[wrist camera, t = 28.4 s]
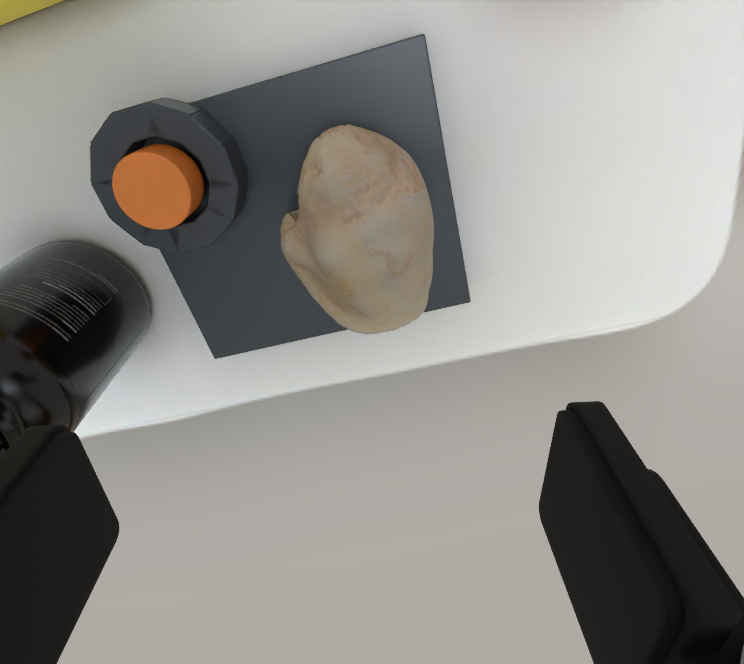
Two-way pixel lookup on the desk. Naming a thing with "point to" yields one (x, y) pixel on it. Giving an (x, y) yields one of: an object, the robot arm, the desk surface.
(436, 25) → the desk surface
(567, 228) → the desk surface
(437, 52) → the desk surface
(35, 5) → the element tile
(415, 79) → the scale
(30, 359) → the supplement bottle
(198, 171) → the tare button
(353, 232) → the stone
